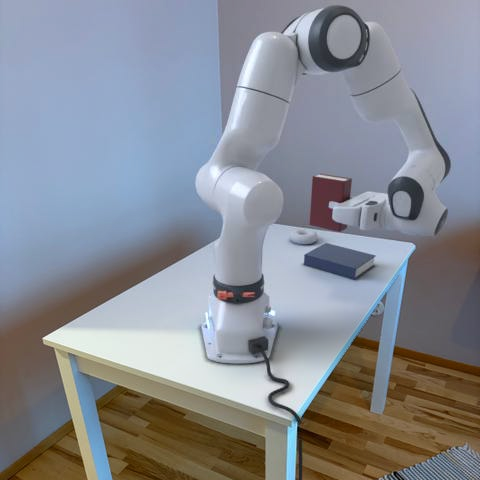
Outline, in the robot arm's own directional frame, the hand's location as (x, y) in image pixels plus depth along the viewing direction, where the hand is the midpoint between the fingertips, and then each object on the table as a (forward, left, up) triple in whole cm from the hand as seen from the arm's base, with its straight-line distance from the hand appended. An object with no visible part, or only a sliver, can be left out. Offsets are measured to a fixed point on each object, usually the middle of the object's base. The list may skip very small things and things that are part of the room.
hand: (335, 201), depth 129 cm
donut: (+30, +5, -23) cm, 38 cm away
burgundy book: (+1, +1, -7) cm, 8 cm away
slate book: (+8, -4, -23) cm, 24 cm away
